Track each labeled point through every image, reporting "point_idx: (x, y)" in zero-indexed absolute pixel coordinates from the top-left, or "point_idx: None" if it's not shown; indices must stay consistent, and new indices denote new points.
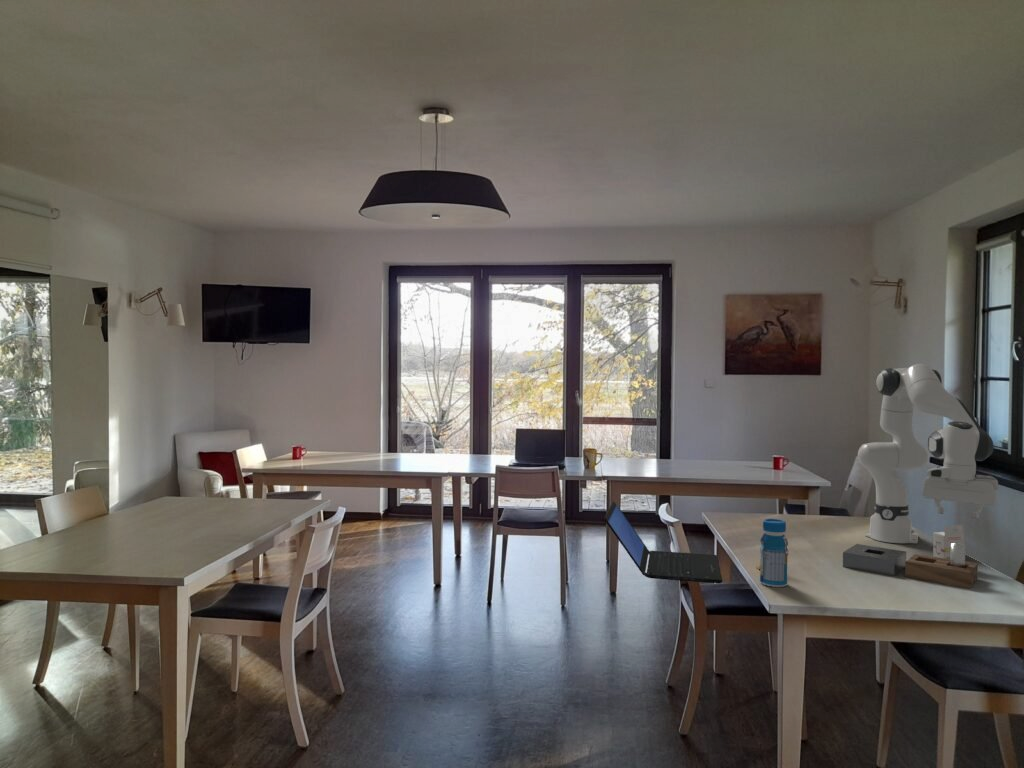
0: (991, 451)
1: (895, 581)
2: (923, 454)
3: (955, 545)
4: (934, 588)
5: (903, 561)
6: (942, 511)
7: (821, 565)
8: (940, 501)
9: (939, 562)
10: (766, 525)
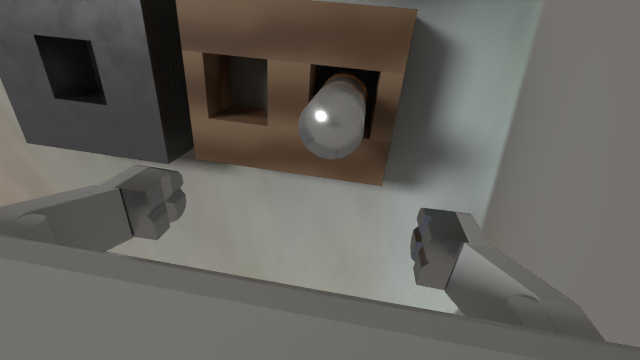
0: None
1: (215, 197)
2: None
3: (323, 156)
4: (301, 209)
5: (165, 26)
6: (167, 221)
7: (36, 147)
8: (46, 237)
9: (281, 100)
10: None
